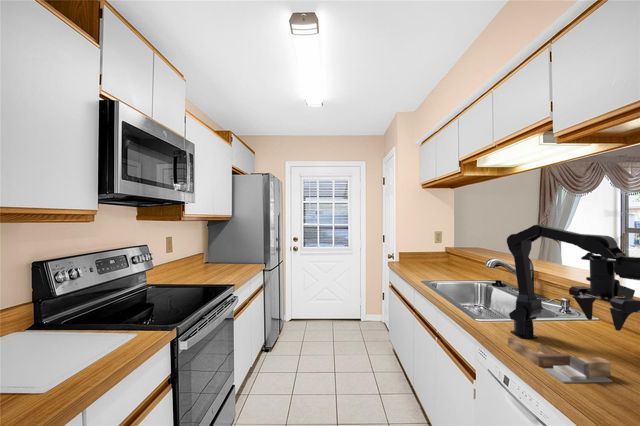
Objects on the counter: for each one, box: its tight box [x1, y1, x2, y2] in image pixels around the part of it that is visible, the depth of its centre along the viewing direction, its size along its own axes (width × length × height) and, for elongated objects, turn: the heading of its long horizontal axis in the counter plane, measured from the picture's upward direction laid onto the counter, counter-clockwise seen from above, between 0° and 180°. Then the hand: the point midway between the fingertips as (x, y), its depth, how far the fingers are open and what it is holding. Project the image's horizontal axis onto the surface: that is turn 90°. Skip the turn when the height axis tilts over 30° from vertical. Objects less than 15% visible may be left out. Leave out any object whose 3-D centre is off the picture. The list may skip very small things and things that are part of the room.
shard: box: [535, 342, 562, 354], centre depth 100 cm, size 11×8×2 cm
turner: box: [552, 356, 612, 380], centre depth 86 cm, size 13×6×4 cm, turn 91°
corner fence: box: [507, 336, 573, 367], centre depth 98 cm, size 14×10×3 cm
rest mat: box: [543, 367, 613, 384], centre depth 86 cm, size 7×14×1 cm, turn 91°
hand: (603, 324), depth 93 cm, fingers open, 9 cm apart
